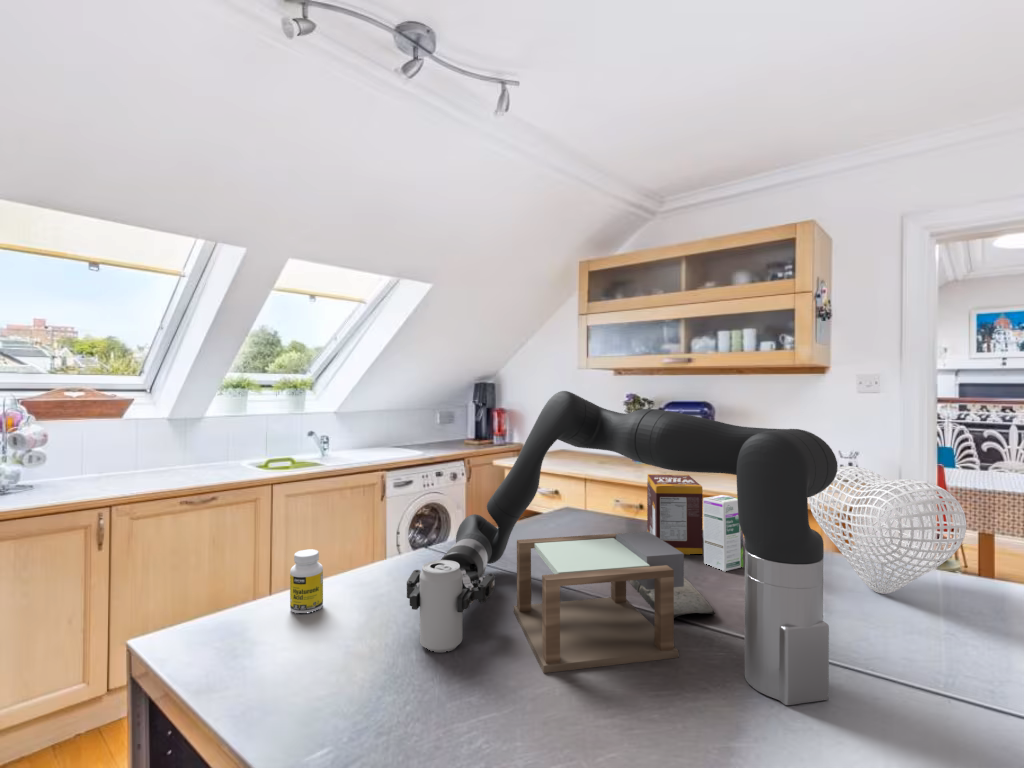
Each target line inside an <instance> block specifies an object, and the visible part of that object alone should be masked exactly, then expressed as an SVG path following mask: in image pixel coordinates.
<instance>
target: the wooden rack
mask: <svg viewBox="0 0 1024 768" xmlns="http://www.w3.org/2000/svg"><path fill="white" fill-rule="evenodd" d="M616 534H621V532H617V533H616V532H615V533H603V534H601V533H600V534H587V535H573V536H572V535H571V536H558V537H557V536H555V537H540V538H524V539H517V540H516V605H513V613H514V614H513V615H515V617H516V619H517V622H518V624H519V626H520V628H521V630H522V632H523V634H524V636H525V638H526V640H527V642H528V644H529V646H530V648H531V650H532V653H533V655H534V656H535V659H536V661H537V663H538V665H539V667H540V669H541V671H542V672H543V674H548V673H555V672H564V671H565V672H566V671H573V670H582V669H593V668H597V667H598V668H600V667H608V666H617V665H624V664H626V665H627V664H635V663H642V662H644V663H645V662H651V661H653V662H654V661H659V660H660V661H661V660H667V659H668V660H670V659H676V658H679V653H680V652H679V649H678V648H677V647H675V644H674V643H675V640H674V638H675V636H674V634H675V633H674V630H675V629H674V628H675V627H674V626H675V625H674V624H675V622H674V619H675V618H674V570H673V569H672V568H670V567H669V566H667V565H664V566H651V567H639V568H626V569H613V570H600V571H588V572H575V573H562V574H554V573H551V574H542V575H541V595H542V597H541V603H533V604H532V549H535V543H546V542H561V541H576V540H591V539H606V538H614V539H616ZM654 578H655V582H654V609H653V611H654V625H653V624H652V623H651V622H650V621H649V619H647V618H646V617H645V616H644V615H643V614H642V613H641V612H640V611H639V610H638V609H637V608H636V607H635V606H634V605H633V604H632V603H631V602H629V600H628V599H627V581H628V582H629V581H630V580H642V579H654ZM602 583H603V584H604V583H610V596H609V597H600V598H598V597H597V598H588V599H576V600H566V601H561V587H570V586H579V585H580V586H581V585H590V584H591V585H593V584H602Z"/></svg>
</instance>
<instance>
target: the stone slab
mask: <svg viewBox="0 0 1024 768" xmlns="http://www.w3.org/2000/svg"><path fill="white" fill-rule="evenodd" d="M628 582H629V584H630V585H631V586H632V587H633V588H634V590H635V591H636V590H637V591H636V592H637V593H638V594H639V593H640V594H639V595H640V596H641V597H642V598H643V599H644V601H645V603H647V604H648V605H649V606H650V607H651V608H652V609H653V610H654V589H650V590H647V589H645V588H644V587H643V586H642V585H641V584H640V583H638V582H637V581H636V580H630V581H628ZM709 603H710V602H708V601H707V600H706V598H705V597H704V596H703V594H702V593H701V592H699V590H698V589H697V588H696V587H694V585H693V584H692V583H691V582H690V581H689V579H687V578H686V577H684V587H674V619H675V618H677V617H679V616H683V615H691V614H710V615H712V616H715V615H716V612H715V609H714V608H713V606H712V605H710V604H709Z"/></svg>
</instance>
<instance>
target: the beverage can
mask: <svg viewBox="0 0 1024 768" xmlns="http://www.w3.org/2000/svg"><path fill="white" fill-rule="evenodd" d="M459 568H460V565H459V563H457V562H455V561H450V560H441V559H438V560H432V561H428V562H426V563H424V564H422V566H421V570H422V571H421V573H420V607H419V642H420V645H421V646H422V647H423V648H424V649H426V648H427V649H428V651H429V650H430V652H432V651H434V652H433V653H447V652H446V651H448V652H450V651H454V650H455V649H456V648H457V647H458V646H459V645H460V644H461V643H462V641H463V613H461V612H457V599H458V596H459V595H460V594H461V593H462V572H461V570H460V569H459ZM427 649H426V650H427Z"/></svg>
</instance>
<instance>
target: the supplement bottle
mask: <svg viewBox="0 0 1024 768" xmlns="http://www.w3.org/2000/svg"><path fill="white" fill-rule="evenodd" d="M293 557H294V558H293V559H294V560H293V561H294V565H292V567H291V568H290V570H289V571H290V574H289V583H290V584H289V598H290V599H289V602H290V603H289V606H290V607H289V608H290V611H291V613H293V612H295V613H294V614H296V613H307V612H312V611H315V612H317V611H316V610H318V609H319V610H321V609H322V608H323V606H324V566H323V564H321V563H320V562H319V560H320V559H319V557H320V553H319V551H318V550H317V549H313V548H311V549H301V550H297V551H296V552H295V553H294V555H293ZM319 610H318V611H319ZM312 613H313V612H312ZM307 614H308V613H307Z"/></svg>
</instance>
